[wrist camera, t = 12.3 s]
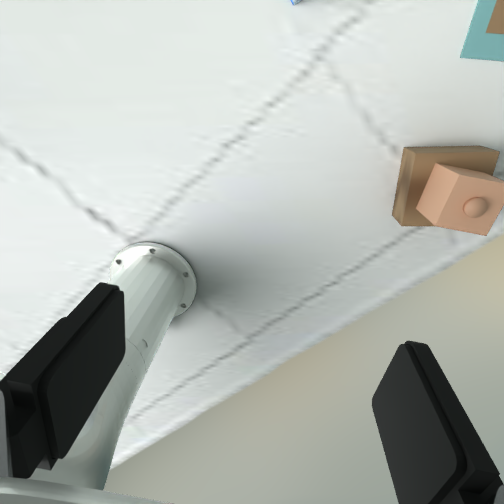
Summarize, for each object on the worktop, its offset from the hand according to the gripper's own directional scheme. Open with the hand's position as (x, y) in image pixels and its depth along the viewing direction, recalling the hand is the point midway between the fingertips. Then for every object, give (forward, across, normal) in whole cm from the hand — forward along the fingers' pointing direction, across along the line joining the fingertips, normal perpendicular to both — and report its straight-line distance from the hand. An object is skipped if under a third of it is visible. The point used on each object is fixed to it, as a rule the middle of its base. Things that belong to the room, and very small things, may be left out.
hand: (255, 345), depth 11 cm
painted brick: (+27, -18, -1) cm, 32 cm away
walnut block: (+31, -18, -1) cm, 36 cm away
